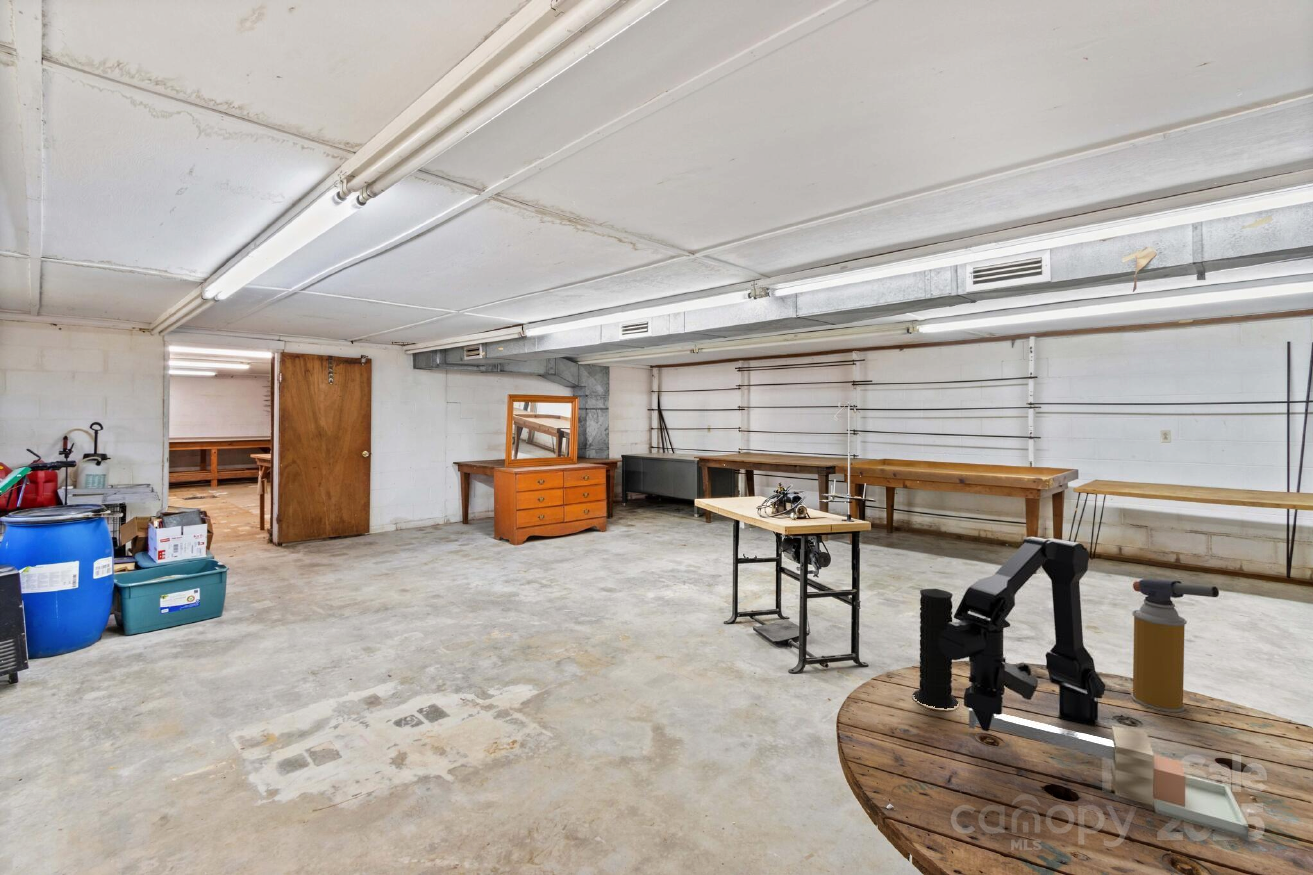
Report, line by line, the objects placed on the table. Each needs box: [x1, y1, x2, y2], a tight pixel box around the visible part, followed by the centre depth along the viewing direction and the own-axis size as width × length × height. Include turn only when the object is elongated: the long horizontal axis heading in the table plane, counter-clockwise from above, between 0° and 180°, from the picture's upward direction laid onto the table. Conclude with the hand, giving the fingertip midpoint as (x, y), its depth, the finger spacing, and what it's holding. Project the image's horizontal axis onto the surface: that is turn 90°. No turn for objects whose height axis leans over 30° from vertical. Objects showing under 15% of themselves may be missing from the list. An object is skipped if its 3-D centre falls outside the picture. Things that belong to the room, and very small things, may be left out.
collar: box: [1153, 754, 1186, 807], centre depth 99 cm, size 4×5×5 cm
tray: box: [1153, 774, 1249, 840], centre depth 98 cm, size 11×12×2 cm
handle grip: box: [912, 588, 959, 709], centre depth 134 cm, size 10×26×10 cm
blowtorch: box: [1130, 578, 1220, 713], centre depth 130 cm, size 9×16×30 cm, turn 15°
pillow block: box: [1110, 725, 1155, 807], centre depth 102 cm, size 5×8×9 cm, turn 146°
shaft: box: [968, 708, 1115, 761], centre depth 109 cm, size 26×4×4 cm, turn 56°
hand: (986, 727), depth 115 cm, fingers closed on shaft, 2 cm apart
